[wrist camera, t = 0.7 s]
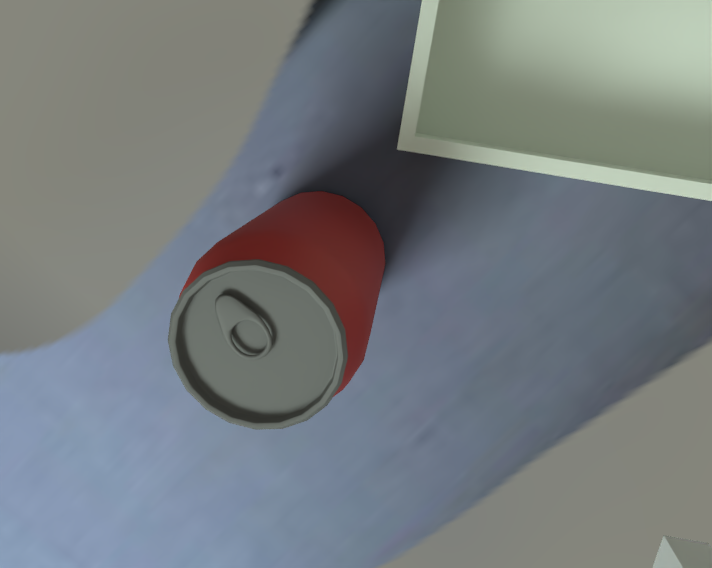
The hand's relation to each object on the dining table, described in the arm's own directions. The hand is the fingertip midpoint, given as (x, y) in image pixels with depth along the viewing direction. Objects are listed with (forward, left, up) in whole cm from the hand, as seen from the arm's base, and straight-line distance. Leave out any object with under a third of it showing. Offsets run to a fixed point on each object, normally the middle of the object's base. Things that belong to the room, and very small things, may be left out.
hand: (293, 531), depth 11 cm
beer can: (0, -3, -19) cm, 19 cm away
